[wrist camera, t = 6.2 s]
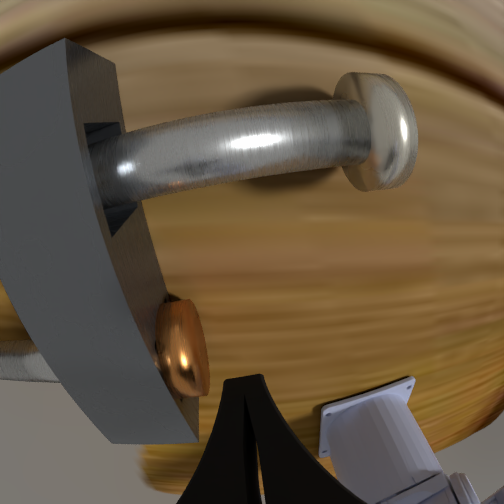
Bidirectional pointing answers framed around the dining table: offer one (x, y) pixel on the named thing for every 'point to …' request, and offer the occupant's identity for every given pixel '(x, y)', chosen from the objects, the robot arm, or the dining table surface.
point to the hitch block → (82, 249)
